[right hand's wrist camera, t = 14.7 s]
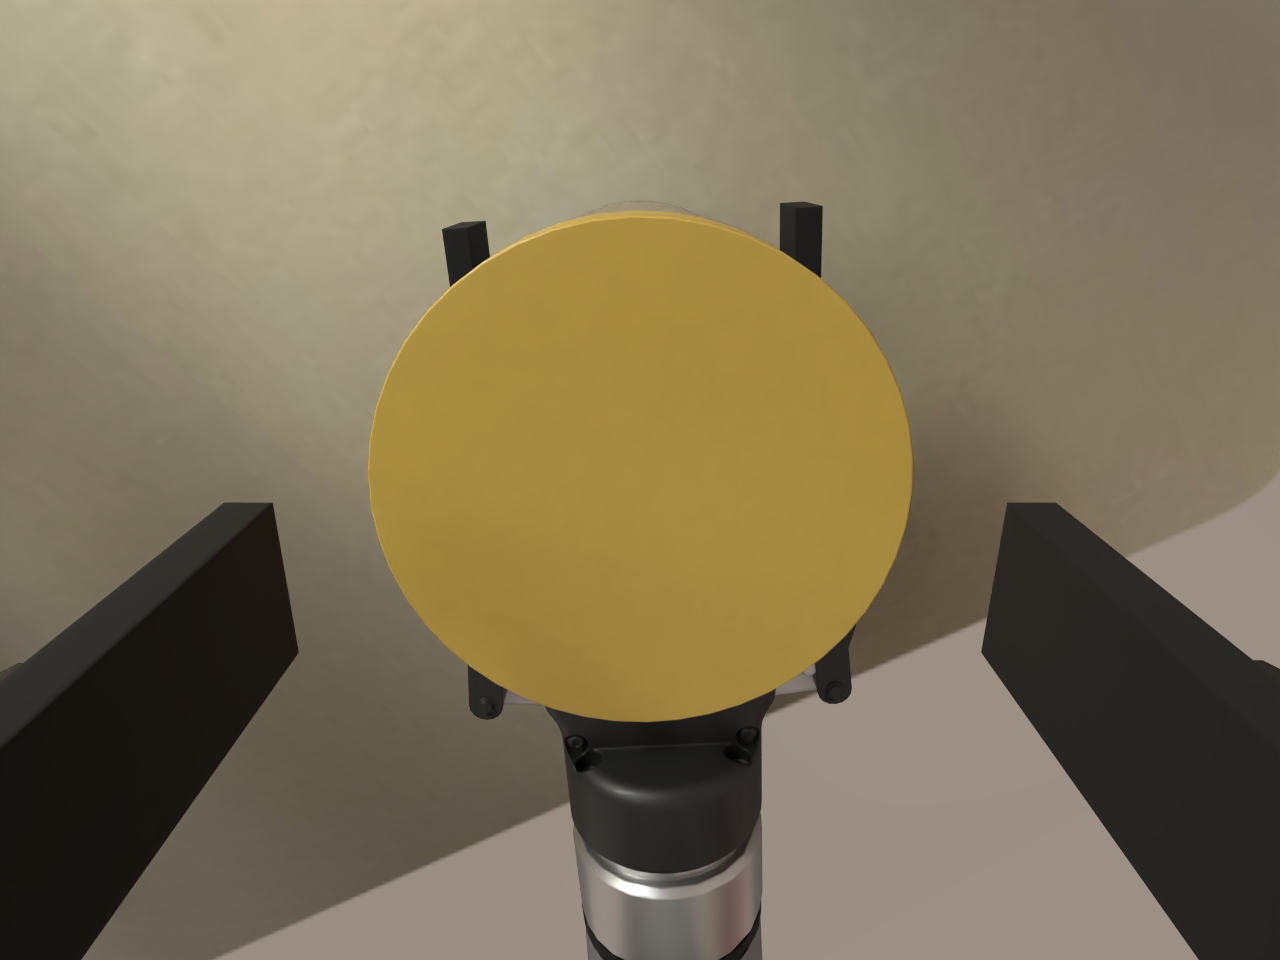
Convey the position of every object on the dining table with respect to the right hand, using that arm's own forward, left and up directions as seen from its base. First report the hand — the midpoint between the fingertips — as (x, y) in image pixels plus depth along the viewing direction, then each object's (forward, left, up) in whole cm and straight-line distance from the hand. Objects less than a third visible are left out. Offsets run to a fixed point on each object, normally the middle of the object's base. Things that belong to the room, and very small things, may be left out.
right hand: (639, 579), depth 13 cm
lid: (0, 0, -3) cm, 3 cm away
